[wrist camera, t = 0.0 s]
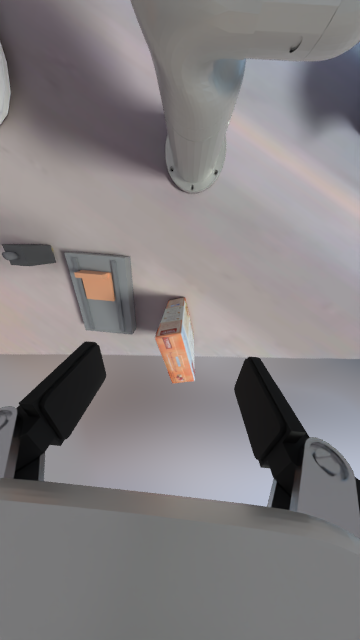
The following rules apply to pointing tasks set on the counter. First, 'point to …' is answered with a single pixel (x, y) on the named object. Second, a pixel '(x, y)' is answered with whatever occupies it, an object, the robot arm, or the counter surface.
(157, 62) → the robot arm
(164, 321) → the cracker box
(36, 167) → the counter surface
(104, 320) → the socket block
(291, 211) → the counter surface
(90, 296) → the tan l-shaped bracket
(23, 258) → the plug
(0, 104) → the frying pan
